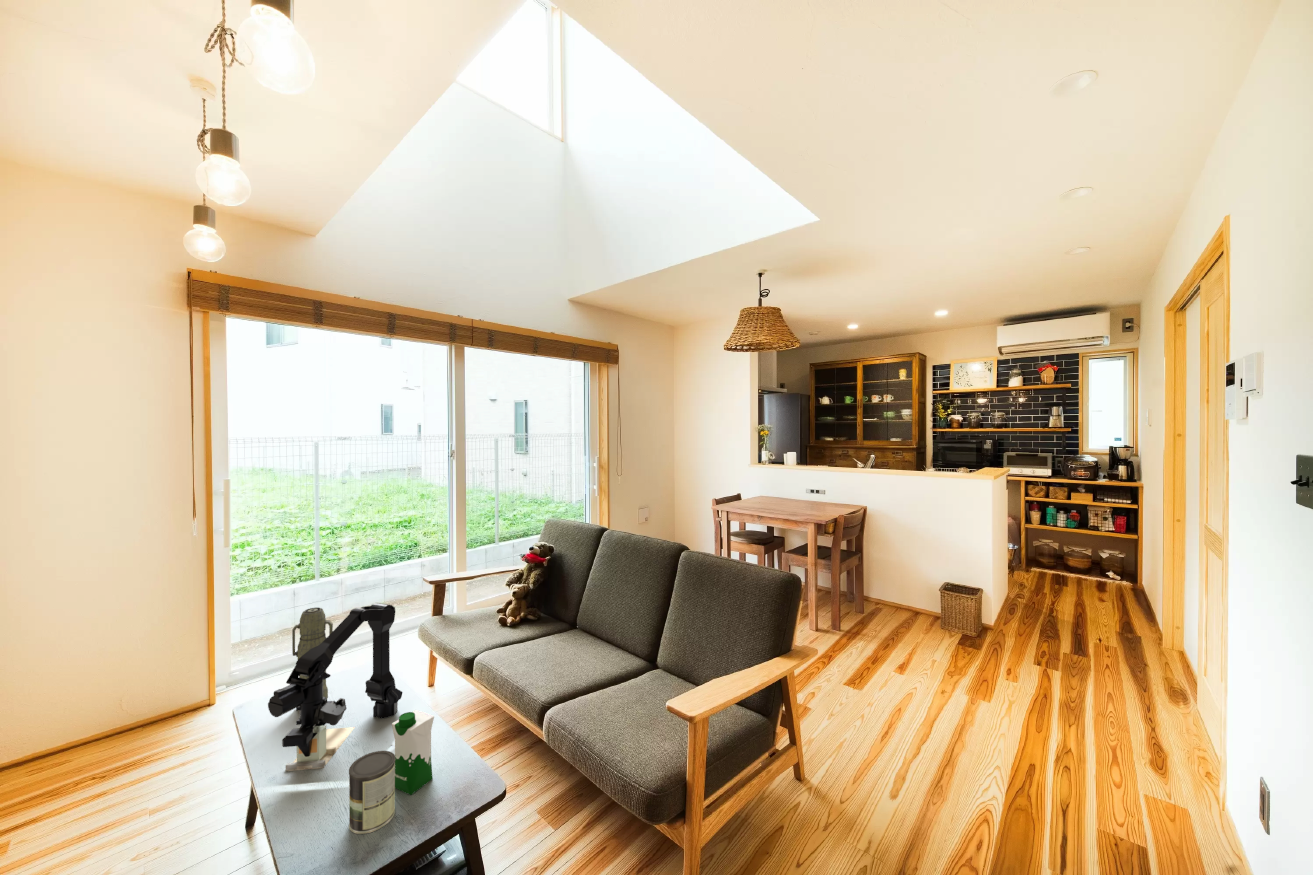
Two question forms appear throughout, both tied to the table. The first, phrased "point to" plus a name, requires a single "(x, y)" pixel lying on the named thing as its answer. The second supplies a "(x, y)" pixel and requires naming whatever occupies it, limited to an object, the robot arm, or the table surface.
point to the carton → (315, 746)
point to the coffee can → (371, 792)
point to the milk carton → (412, 751)
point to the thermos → (311, 635)
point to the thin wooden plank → (332, 744)
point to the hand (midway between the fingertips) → (311, 751)
